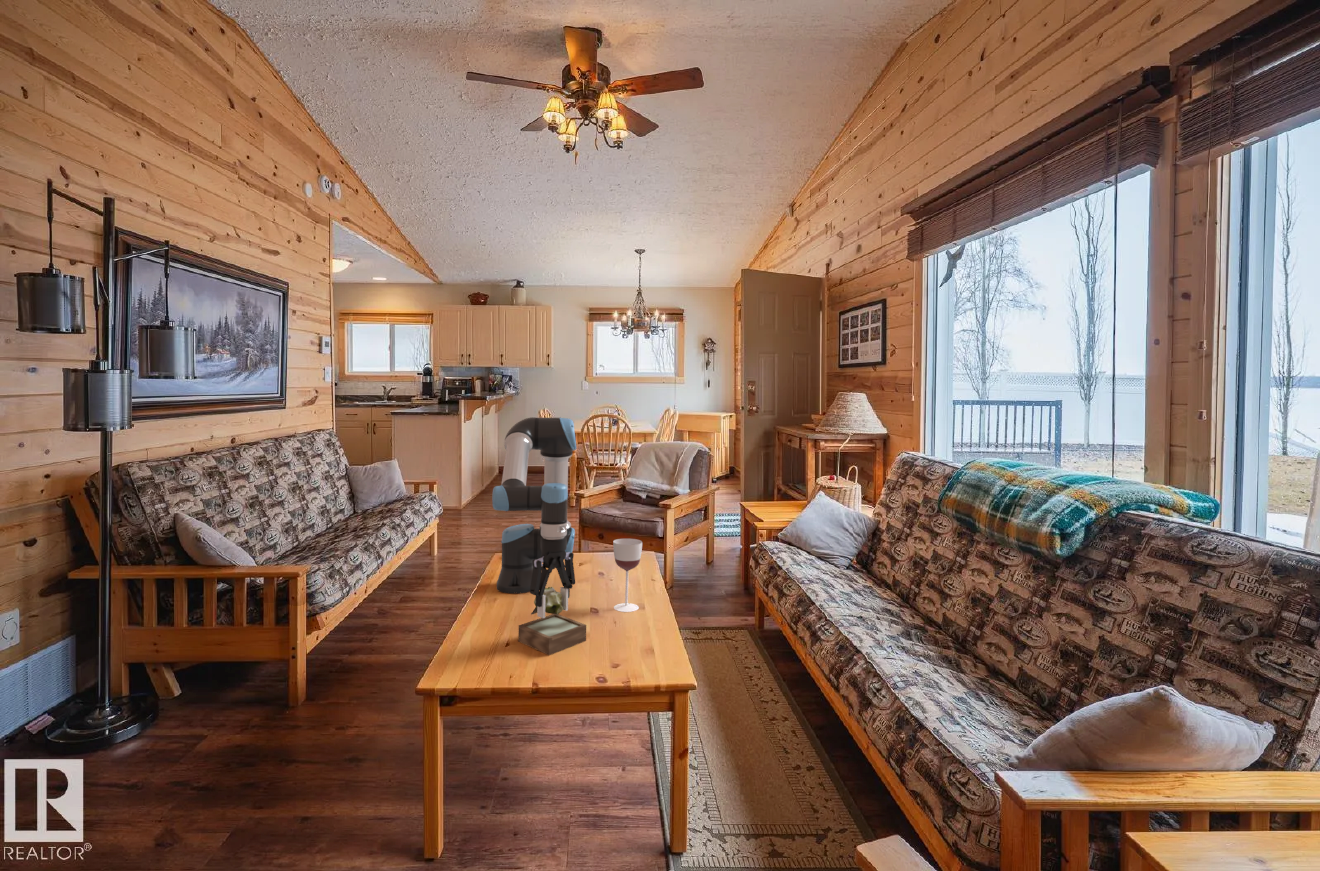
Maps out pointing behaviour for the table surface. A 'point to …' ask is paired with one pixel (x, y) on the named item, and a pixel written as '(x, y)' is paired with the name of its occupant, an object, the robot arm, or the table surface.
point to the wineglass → (627, 565)
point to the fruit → (551, 601)
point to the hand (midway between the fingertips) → (552, 612)
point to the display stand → (552, 633)
